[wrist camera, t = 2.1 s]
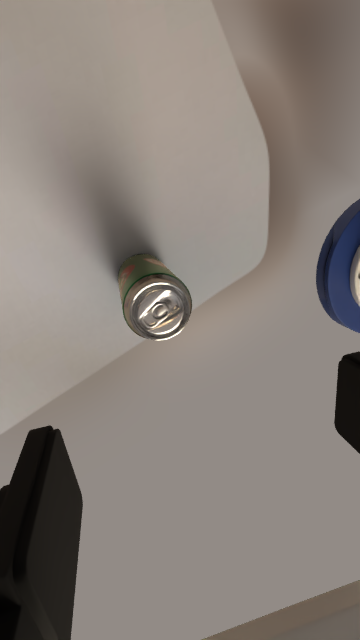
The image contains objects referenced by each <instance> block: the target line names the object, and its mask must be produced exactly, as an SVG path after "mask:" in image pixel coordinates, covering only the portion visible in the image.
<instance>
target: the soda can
mask: <svg viewBox="0 0 360 640" xmlns="http://www.w3.org/2000/svg"><path fill="white" fill-rule="evenodd" d="M118 283H119V289H120V296H121V302H122V308H123V315H124V318H125V321H126V322H127V324H128V326H129V327H130V328H131V329H132V330H133V331H134V332H135V333H136V334H138V335H139V336H142V337H144V338H147V339H151V340H165V339H169V338H171V337H174V336H175V335H177V334H178V333H179V332H181V331H182V330H183V328H184V327H185V326H186V324H187V322H188V320H189V317H190V314H191V309H192V300H191V296H190V293H189V291H188V289H187V287H186V286H185V285H184V283H183V282H182V281H181V280H180V279H179V278H177V277H176V276H175V275H174V274H173V273H172V272H171V271H170V270H169V269H168V268H167V267H166V266H165V265H164V264H163V263H162V262H160V261H159V260H158V259H157V258H155V257H154V256H151V255H148V254H137V255H134V256H132V257H130V258H128V259H127V260H126V261H125V262H124V263H123V264H122V266H121V268H120V270H119V273H118Z"/></svg>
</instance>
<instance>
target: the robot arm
mask: <svg viewBox="0 0 360 640" xmlns="http://www.w3.org/2000/svg"><path fill="white" fill-rule="evenodd" d="M350 288H351V292H352V296H353V298H354V300H355V302H356V303H357V304H358V305H359V306H360V245H359V247H358V249H357V251H356V253H355V256H354V258H353V261H352V265H351V270H350ZM334 423H335V428H336V430H337V432H338V433H339V434H340V435H341V436H342V437H343V438H344V439H345V440H346V441H347V442H348V443H349V444H350V445H351V446H352V447H353V448H354V449H355V450H356V451H357V452H358V453H360V352H356V353H351V354H347V355H344V356H343V358H342V360H341V361H340V362H339V366H338V380H337V394H336V409H335V422H334ZM82 503H83V502H82V494H81V491H80V488H79V485H78V482H77V479H76V476H75V474H74V470H73V468H72V464H71V462H70V459H69V456H68V453H67V450H66V447H65V444H64V441H63V438H62V435H61V432H60V430H59V429H55V430H53V428H52V426H46V427H42V428H37V429H33V430H30V431H29V433H28V435H27V438H26V440H25V443H24V446H23V449H22V451H21V454H20V457H19V460H18V463H17V465H16V468H15V470H14V473H13V476H12V479H11V481H10V484H9V485H6V486H3V487H2V488H1V489H0V640H71V628H72V617H73V606H74V594H75V585H76V574H77V562H78V551H79V541H80V529H81V518H82V507H83V504H82ZM202 640H360V580H358V581H356V582H353V583H350V584H347V585H345V586H342V587H339V588H337V589H334V590H331V591H329V592H326V593H323V594H321V595H318V596H315V597H313V598H310V599H307V600H305V601H302V602H299V603H297V604H294V605H292V606H289V607H286V608H283V609H281V610H278V611H276V612H273V613H271V614H268V615H265V616H262V617H260V618H257V619H255V620H252V621H249V622H247V623H244V624H242V625H239V626H237V627H234V628H231V629H228V630H226V631H223V632H221V633H218V634H215V635H213V636H210V637H207V638H205V639H202Z"/></svg>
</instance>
